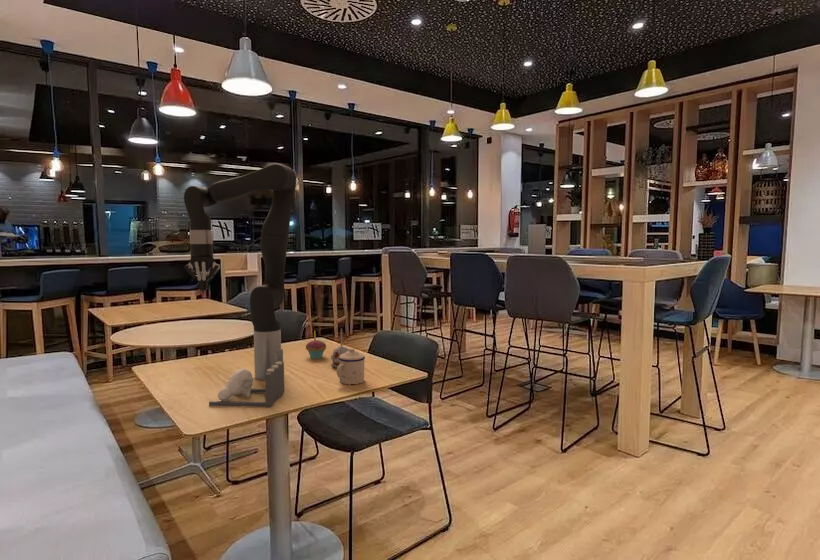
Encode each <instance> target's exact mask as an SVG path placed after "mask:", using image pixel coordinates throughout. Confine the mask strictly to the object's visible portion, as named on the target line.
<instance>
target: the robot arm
mask: <svg viewBox="0 0 820 560" xmlns="http://www.w3.org/2000/svg"><path fill="white" fill-rule="evenodd" d="M296 187H297V174H296V172H295V171H294V170H293V169H292V168H291V167H289V166H287V165H285V164H284V165H283V164H282V163H272V164H269V165H266V166H265V167H262V168H260V169H257V170H255V171H253V172H250V173H247V174H244V175H241V176H237V177H233V178H228V179H223V180H219V181H215V182H213V183H212V184H210V186H206V187H204V186H197V185H190V186H187V188H186V189H185V190H184V192H183V203H184V206H185V209H186V213H187V216H188V219H189V247H190V248H189V249H190V251H189V252H190V254H189V255H190V259H189V262H188V263H187V264H185V265H183V268H184V270H185V271H186V272H187V273H188V274H189V276H190V277H191V278H192V279H194V280H197V281H198V289H199V290H200V292H206V291H208V289H209V280H211V279H214V278H215V276H216V274H217V273H218V272H219V271H220V270H221V268H222V265H221V264H218V263H216V261H215V258H214V239H213V238H214V237H213V233H212V218H211V215H210V214H207V212H206V211H205V208H208V207H213V206H216V205H218V204H219V203H222V202H228V201H232V200H236V199H239V198H242V197H245V196H246V195H248V194H251V193H253V192H257V191H258V192H259V191H272V200H271V207H270V208H269V211H268V214H267V216H266V217H265V220H264V222H263V224H262V228H261V234H260V235H261V236H260V244H259V247H260V252H261V257H262V260H263V264H264V267H265V269H264V270H265V271H264V273H265V274H264V281H263V284H262V285H259V286H258V285H257V286H256V287H254V288H253V289H252V290H251V292H250V296H249V308H250V309H249V312H250V320H251V324H252V326H253V353H254V354H253V355H254V356H253V357H254V358H253V360H254V361H253V363H254V364H253V365H254V378H255V379H256V380H259V381H265V374H266V373H267V369H272V368H271V366H272V365H275V362H284V349H283V348H282V336H281V335H282V333H281V331H282V328H281V326H282V325H281V321H280V320H279V319H277V317H276V315H275V312H276V311H275V309H278V308H280V307H281V305H282V304H283V303H284V300H285V271H286V270H285V269H286V261H287V250H288V245H289V243H288V242H289V236H290V235H289V234H290V224H291V223H290V222H291V216H292V215H291V214H292V207H293V201H294V196H295V192H296ZM210 270H211V271H210Z"/></svg>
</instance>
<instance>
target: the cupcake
mask: <svg viewBox="0 0 820 560" xmlns="http://www.w3.org/2000/svg"><path fill="white" fill-rule="evenodd" d="M313 331H314V332H313V339H314V340H311V341H309V342H307V344H306V345H305V350H306V351H307V352H308V354H309V356H310V358H311V359H313V358H318V359H322V358H321V357H323V356H324V352H325V350H326V349H327V344H326V342H323V341H322V340H317V337H316V336H317V335H316V330H313Z"/></svg>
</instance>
